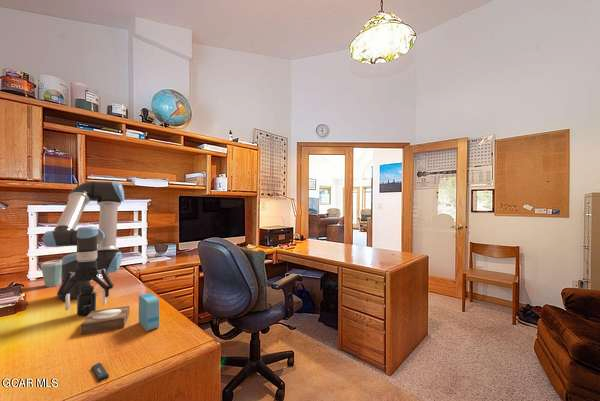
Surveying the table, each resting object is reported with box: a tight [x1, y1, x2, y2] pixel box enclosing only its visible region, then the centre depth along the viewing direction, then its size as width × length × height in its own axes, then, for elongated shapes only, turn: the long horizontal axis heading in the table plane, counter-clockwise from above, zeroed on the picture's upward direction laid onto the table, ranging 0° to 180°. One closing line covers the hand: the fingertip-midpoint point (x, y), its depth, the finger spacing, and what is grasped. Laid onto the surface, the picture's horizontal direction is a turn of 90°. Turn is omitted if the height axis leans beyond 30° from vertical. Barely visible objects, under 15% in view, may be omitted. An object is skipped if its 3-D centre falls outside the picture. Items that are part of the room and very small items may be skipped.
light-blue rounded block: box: [138, 292, 160, 332], centre depth 109 cm, size 12×4×12 cm, turn 45°
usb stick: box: [91, 362, 110, 382], centre depth 78 cm, size 10×3×2 cm, turn 49°
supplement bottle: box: [76, 285, 97, 317], centre depth 121 cm, size 7×7×12 cm
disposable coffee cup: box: [40, 259, 62, 288], centre depth 162 cm, size 11×11×15 cm
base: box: [80, 305, 130, 336], centre depth 110 cm, size 14×14×4 cm
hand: (86, 306), depth 121 cm, fingers open, 13 cm apart
